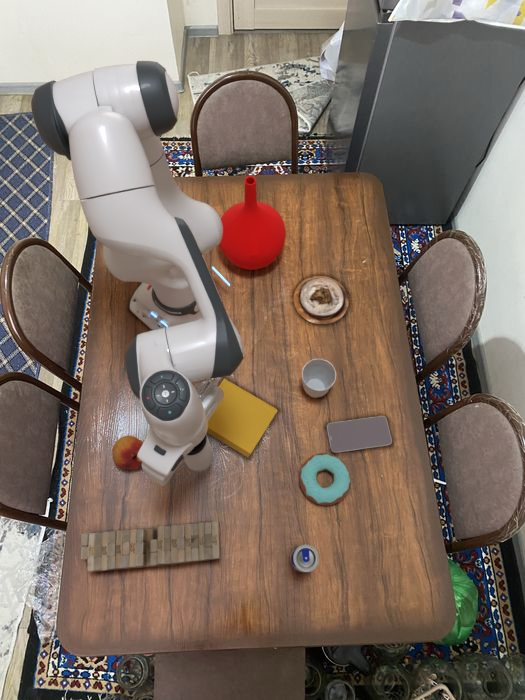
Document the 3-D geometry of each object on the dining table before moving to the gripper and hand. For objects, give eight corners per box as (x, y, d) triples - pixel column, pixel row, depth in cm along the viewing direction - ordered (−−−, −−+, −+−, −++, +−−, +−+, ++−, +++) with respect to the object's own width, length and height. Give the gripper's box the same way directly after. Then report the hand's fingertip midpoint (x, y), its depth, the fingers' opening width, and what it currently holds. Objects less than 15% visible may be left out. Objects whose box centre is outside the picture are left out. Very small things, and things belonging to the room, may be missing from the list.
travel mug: (218, 447, 115) (211, 423, 97) (207, 475, 113) (197, 456, 94) (192, 438, 116) (180, 412, 98) (180, 466, 114) (166, 445, 95)
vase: (207, 261, 146) (195, 190, 119) (242, 216, 152) (238, 139, 125) (262, 291, 143) (263, 225, 115) (296, 244, 149) (304, 170, 121)
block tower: (92, 572, 116) (223, 560, 116) (79, 572, 108) (219, 560, 108) (94, 534, 119) (221, 523, 119) (81, 532, 111) (217, 520, 111)
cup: (328, 406, 130) (333, 393, 121) (296, 399, 130) (299, 387, 121) (333, 376, 133) (338, 361, 124) (302, 370, 134) (305, 355, 124)
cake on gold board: (346, 276, 145) (348, 268, 141) (350, 324, 139) (352, 317, 135) (293, 276, 144) (294, 268, 141) (294, 324, 139) (295, 317, 135)
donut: (288, 475, 123) (289, 472, 119) (326, 445, 126) (328, 441, 122) (320, 517, 119) (322, 515, 116) (359, 485, 122) (362, 482, 119)
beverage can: (288, 548, 117) (291, 545, 103) (310, 546, 117) (317, 543, 103) (290, 572, 115) (294, 573, 101) (313, 570, 115) (320, 570, 101)
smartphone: (392, 444, 125) (332, 453, 124) (392, 445, 126) (331, 454, 125) (385, 415, 128) (326, 423, 127) (384, 416, 129) (325, 424, 128)
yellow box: (193, 424, 128) (193, 423, 127) (224, 378, 133) (224, 378, 132) (248, 458, 125) (248, 457, 124) (278, 410, 129) (278, 409, 129)
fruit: (123, 478, 123) (115, 472, 115) (111, 448, 125) (102, 441, 118) (154, 463, 124) (147, 456, 117) (141, 433, 127) (134, 425, 120)
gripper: (200, 364, 92) (207, 389, 105) (130, 463, 85) (147, 477, 98) (230, 382, 91) (233, 405, 103) (161, 484, 84) (174, 495, 97)
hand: (191, 441), depth 101 cm, fingers closed on travel mug, 6 cm apart
